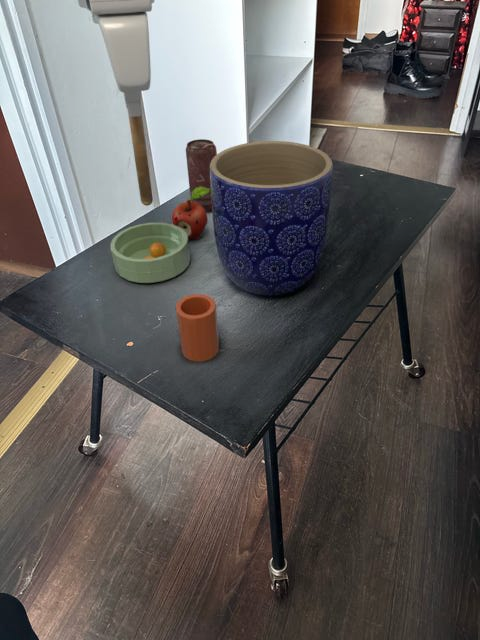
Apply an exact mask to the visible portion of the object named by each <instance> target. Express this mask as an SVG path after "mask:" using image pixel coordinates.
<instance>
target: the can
mask: <svg viewBox="0 0 480 640" xmlns="http://www.w3.org/2000/svg"><path fill="white" fill-rule="evenodd" d="M217 154H218V153H217V146H216V145H215V143H214V141H212V140H211V139H205V138H203V139H199V138H198V139H193V140H191V141H188V142H187V143H186V147H185V158H186V168H187V177H188V186H189V187H188V188H189V196H190V198H189V199H191V195H192V191H193V190H194V189H195V188H196V187H200V186H201V187H205V188H209V189H210V190H209V193H208V194H206V195H204V196H203V197H200V198H195V199H192V200H191V201H190V202H197V203H199V204H200V205H202V206H203V207H204V209H205V212H206V214H207V213H212V203H211V188H210V163H211V161H212V159H213V158H214V157H215V156H216V155H217Z"/></svg>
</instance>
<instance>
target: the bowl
mask: <svg viewBox="0 0 480 640" xmlns="http://www.w3.org/2000/svg"><path fill="white" fill-rule="evenodd" d="M157 242H159V243H162V244H163V245H164V246H165V248H166V254H165V255H164V256H161V257H157V258H151V259H144V258H146V257H148V256H151V254H150V247H151V245H152V244H154V243H157ZM109 245H110V252H111V257H112V261H113V266H114V270H115V271H116V273H117V274H118V275H119V276H120V277H121V278H123V279H125V280H126V281H129V282H133V283H140V284H152V283H158V282H164V281H167V280H170V279H173V278H175V277H176V276H178V275H180V274H181V273H183V272H184V271H185V270H186V269H187V268H188V267H189V265H190V262H191V253H190V244H189V239H188V236H187V234H186V232H185V231H184V230H183V229H182V228H180V227H178V226H175V225H173V223H169V222H168V223H167V222H145V223H140V224H136V225H132V226H129V227H127V228H125V229H122V230H121V231H119V232H118V233H117V234H116V235H115V236H114V237H112V240H111V241H110V244H109Z"/></svg>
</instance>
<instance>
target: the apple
mask: <svg viewBox="0 0 480 640" xmlns="http://www.w3.org/2000/svg"><path fill="white" fill-rule="evenodd" d="M209 190H210V189H209V188H205V187H201V186H200V187H196V188H195V189H194V190H193V191H192V195H191V198H187V199H186V201H185V202H184V201H183V202H181V203H179V204H178V205H177V206H176V207H175V208H174V209H173V211H172V214H171V222H172V223H171V224H173V225H175V226H178V227H180V228H182V229H183V230H184V231H185V232H186V234H187V236H188V240H198V239H200V238H201V237H202V235H203V232H204V230H205V229H206V226H207V224H208V214H207V213H206V212H205V209H204V207H203V206H202V205H200V204H199V203H197V202H191V200H192V199H195V198H200V197H203V196H204V195H206V194H208V193H209Z"/></svg>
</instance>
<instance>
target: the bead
mask: <svg viewBox="0 0 480 640" xmlns="http://www.w3.org/2000/svg"><path fill="white" fill-rule="evenodd" d="M150 254H151V256H153V257H155V258H157V257H161V256H164V255H165V254H166V248H165V246H164V245H163V244H162V243H159V242H157V243H154V244H152V245H151V247H150Z"/></svg>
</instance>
